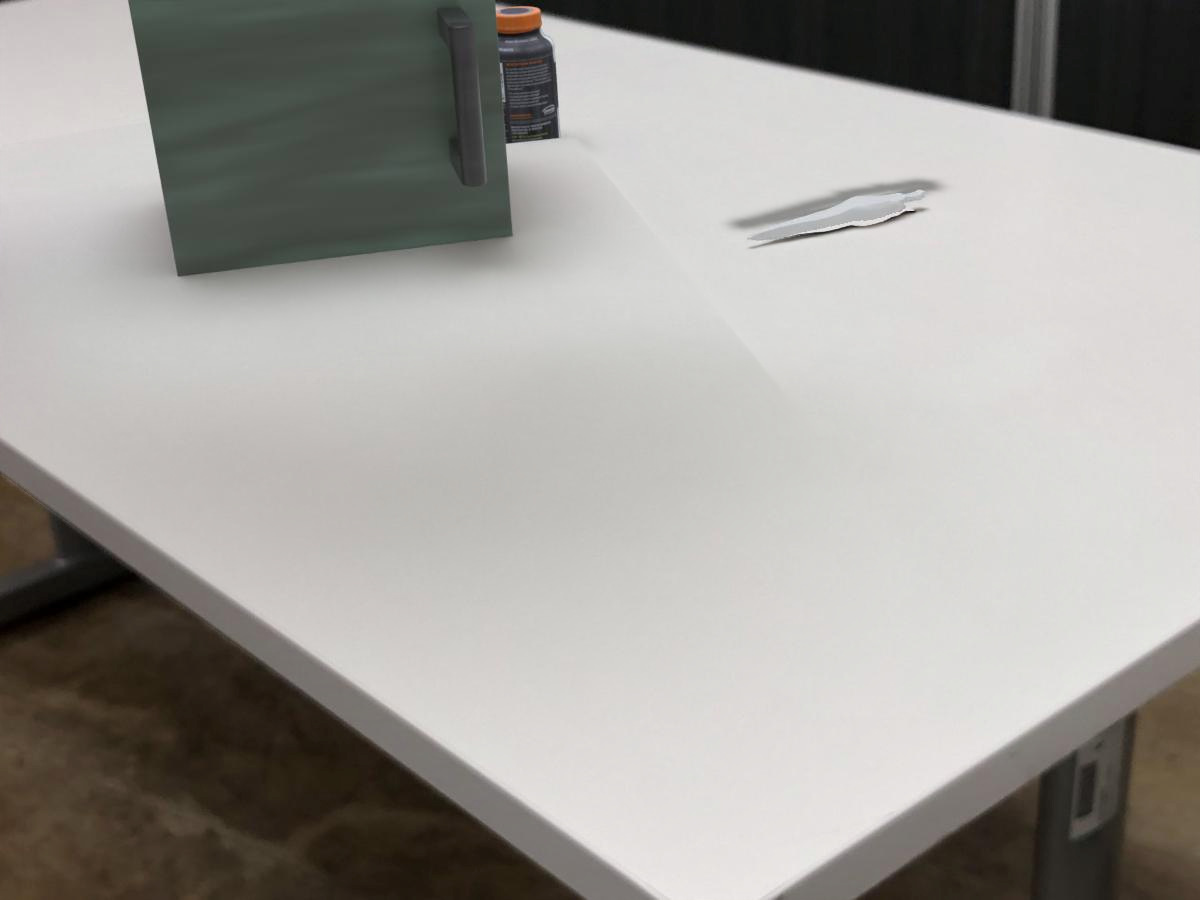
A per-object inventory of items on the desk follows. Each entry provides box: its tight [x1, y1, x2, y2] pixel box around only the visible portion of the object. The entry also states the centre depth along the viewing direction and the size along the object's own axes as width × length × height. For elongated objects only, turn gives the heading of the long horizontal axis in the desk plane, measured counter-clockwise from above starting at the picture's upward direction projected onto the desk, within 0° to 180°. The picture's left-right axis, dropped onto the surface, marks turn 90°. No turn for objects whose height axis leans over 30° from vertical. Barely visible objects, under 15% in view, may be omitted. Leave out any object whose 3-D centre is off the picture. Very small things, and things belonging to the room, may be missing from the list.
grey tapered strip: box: [746, 189, 926, 241], centre depth 110 cm, size 15×3×2 cm, turn 117°
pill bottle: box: [496, 5, 562, 145], centre depth 129 cm, size 6×6×11 cm
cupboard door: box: [127, 0, 514, 277], centre depth 98 cm, size 7×22×24 cm, turn 103°
